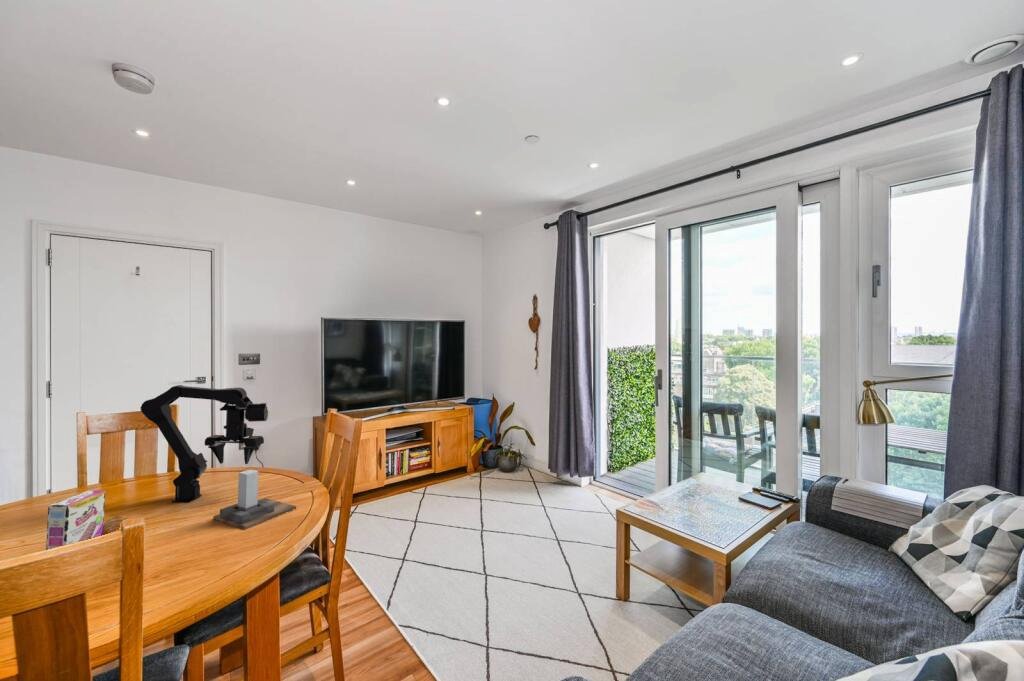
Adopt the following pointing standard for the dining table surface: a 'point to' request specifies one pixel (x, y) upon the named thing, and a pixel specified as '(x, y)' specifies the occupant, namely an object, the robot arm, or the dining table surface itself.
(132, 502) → the dining table surface
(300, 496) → the dining table surface
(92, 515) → the candy bar box
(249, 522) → the grey square socket base
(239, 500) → the white block
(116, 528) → the pastry
